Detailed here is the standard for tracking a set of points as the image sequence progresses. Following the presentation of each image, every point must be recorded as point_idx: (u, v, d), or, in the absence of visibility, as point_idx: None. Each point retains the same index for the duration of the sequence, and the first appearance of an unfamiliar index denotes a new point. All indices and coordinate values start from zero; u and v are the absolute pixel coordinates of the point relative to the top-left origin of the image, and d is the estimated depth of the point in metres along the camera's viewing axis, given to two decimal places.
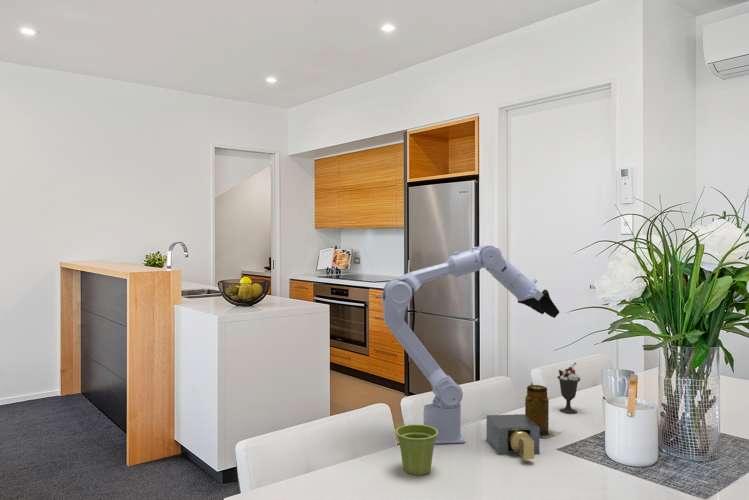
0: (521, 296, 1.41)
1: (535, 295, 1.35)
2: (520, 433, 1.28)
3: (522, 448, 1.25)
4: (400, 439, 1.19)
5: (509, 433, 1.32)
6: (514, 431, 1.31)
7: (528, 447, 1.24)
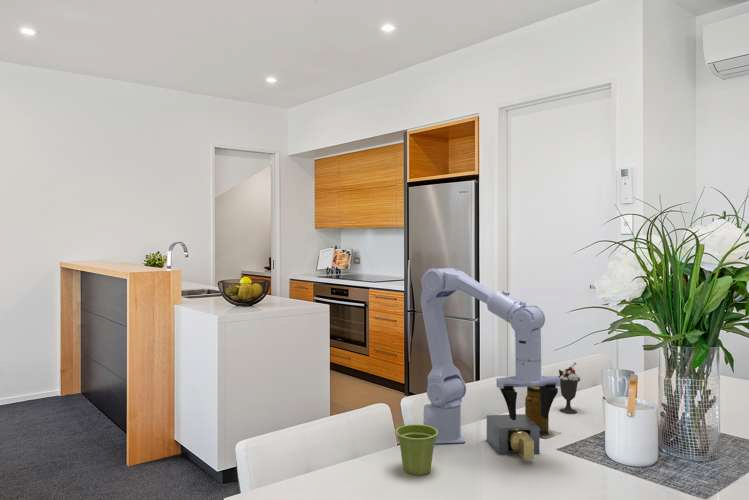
0: None
1: (497, 380, 1.25)
2: (520, 433, 1.28)
3: (522, 448, 1.25)
4: (400, 439, 1.19)
5: (509, 433, 1.32)
6: (514, 431, 1.31)
7: (528, 447, 1.24)
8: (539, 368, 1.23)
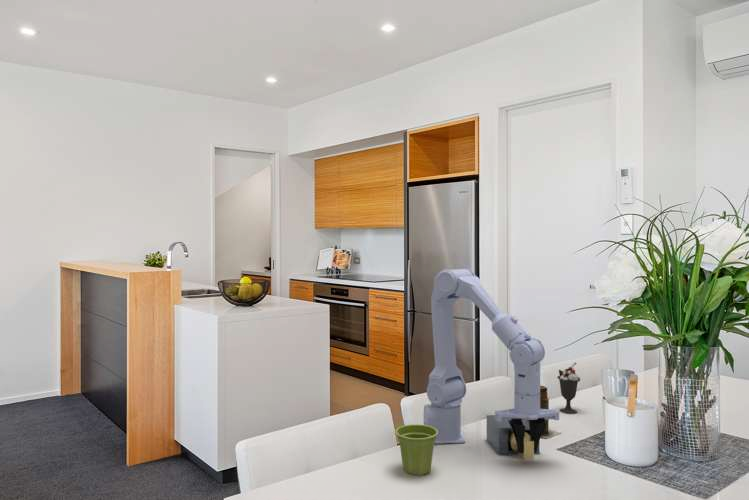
0: None
1: (495, 413, 1.25)
2: None
3: None
4: (400, 439, 1.19)
5: (509, 433, 1.32)
6: None
7: (528, 447, 1.24)
8: (538, 402, 1.23)
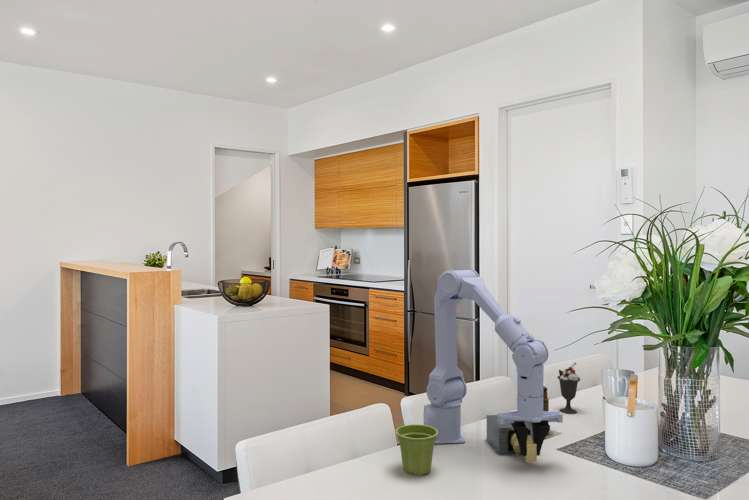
0: None
1: (498, 415, 1.23)
2: None
3: None
4: (400, 439, 1.19)
5: (511, 435, 1.30)
6: None
7: (530, 449, 1.22)
8: (541, 404, 1.21)
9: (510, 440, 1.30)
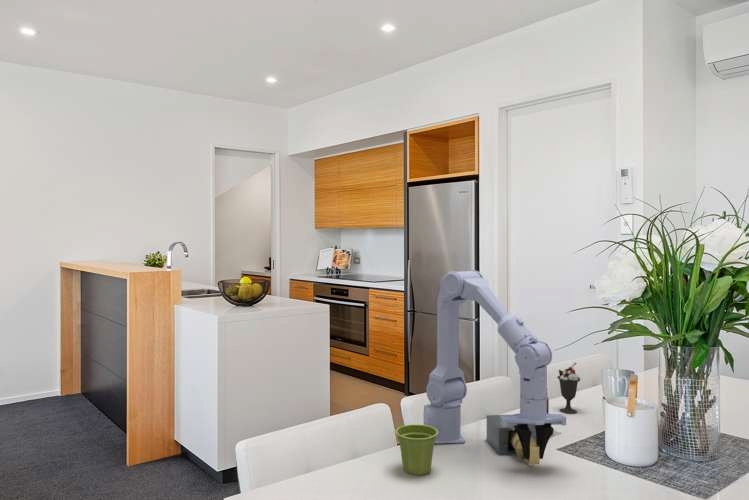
0: None
1: (500, 418, 1.21)
2: None
3: None
4: (400, 439, 1.19)
5: (514, 438, 1.28)
6: None
7: (533, 452, 1.21)
8: (544, 407, 1.19)
9: (512, 443, 1.28)
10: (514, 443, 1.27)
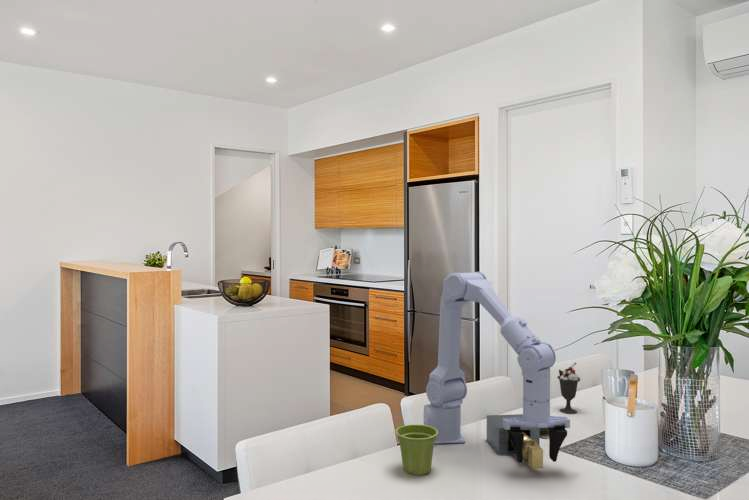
0: None
1: (503, 420, 1.20)
2: (528, 441, 1.23)
3: (530, 457, 1.20)
4: (400, 439, 1.19)
5: None
6: None
7: (536, 455, 1.19)
8: (548, 409, 1.18)
9: None
10: None
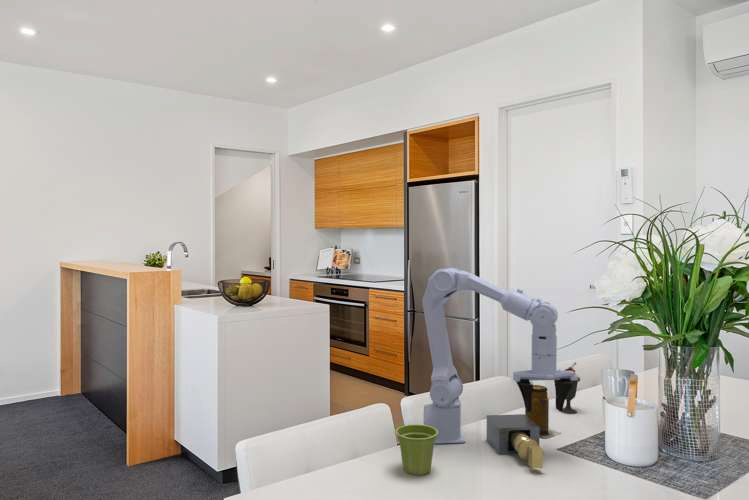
0: None
1: (513, 373, 1.31)
2: (528, 441, 1.23)
3: (530, 457, 1.20)
4: (400, 439, 1.19)
5: (516, 440, 1.27)
6: (522, 438, 1.26)
7: (536, 455, 1.19)
8: (554, 362, 1.29)
9: (515, 445, 1.27)
10: (517, 446, 1.26)
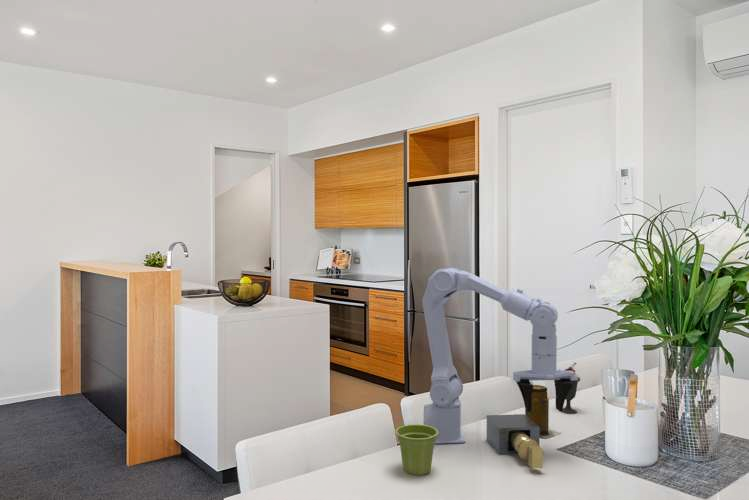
0: None
1: (513, 373, 1.31)
2: (528, 441, 1.23)
3: (530, 457, 1.20)
4: (400, 439, 1.19)
5: (516, 440, 1.27)
6: (522, 438, 1.26)
7: (536, 455, 1.19)
8: (554, 362, 1.29)
9: (515, 445, 1.27)
10: (517, 446, 1.26)
